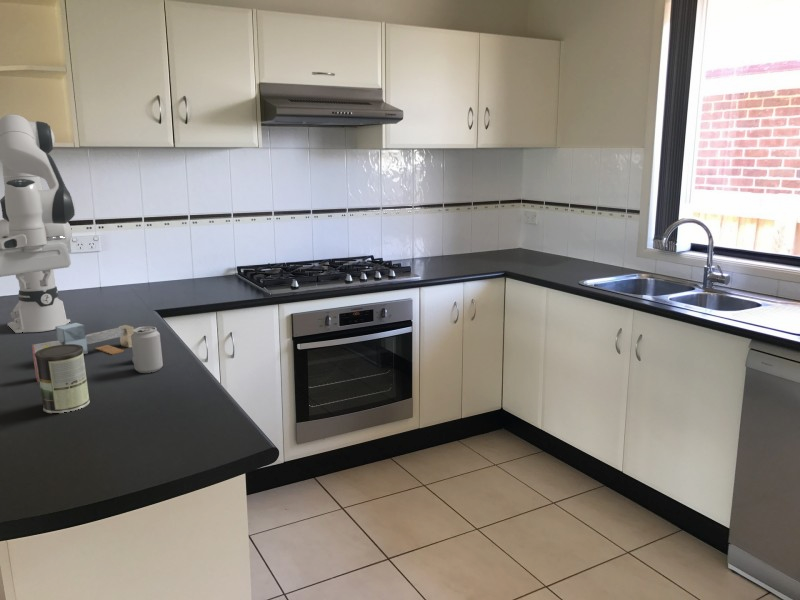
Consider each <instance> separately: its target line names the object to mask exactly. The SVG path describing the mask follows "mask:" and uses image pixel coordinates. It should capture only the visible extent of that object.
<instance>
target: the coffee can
mask: <svg viewBox="0 0 800 600" xmlns="http://www.w3.org/2000/svg"><path fill="white" fill-rule="evenodd" d="M35 357H36V361H37V367H38V374H39V381H40V382H39V387H40V393H41V401H42V410H43V412H45V413H48V414H52V413H59V414H65V413H64V412H67V413H71V412H70V411H72V412H75V410H76V411H78V409H79V410H82V409H83V408H85V407H87V406H88V405H89V404H90V402H91V401H90V396H89V387H88V386H89V385H88V380H87V374H86V371H87V370H86V364H85V357H84V354H83V346H81V345H76V344H64V345H56V346H51V347H47V348H44V349H41V350H39V351H37V352H36V353H35ZM81 408H82V409H81Z"/></svg>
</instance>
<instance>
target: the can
mask: <svg viewBox="0 0 800 600" xmlns="http://www.w3.org/2000/svg"><path fill="white" fill-rule="evenodd" d="M139 327H140V328H138V327H135V328H134V330H133V332H134V333H133V334H132V335H131V341H132V347H131V348H132V349H131V351H132V359H134V363H133V366H134V370H135V371H136V372H138V373H140V374H149V373H150V374H151V372H152V373H155V372H158V371H160V370H161V368H162V367H163V365H164V363H163V354H162V343H161V334H160V332H159V331H158V330H157V327H156V326H139Z"/></svg>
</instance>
